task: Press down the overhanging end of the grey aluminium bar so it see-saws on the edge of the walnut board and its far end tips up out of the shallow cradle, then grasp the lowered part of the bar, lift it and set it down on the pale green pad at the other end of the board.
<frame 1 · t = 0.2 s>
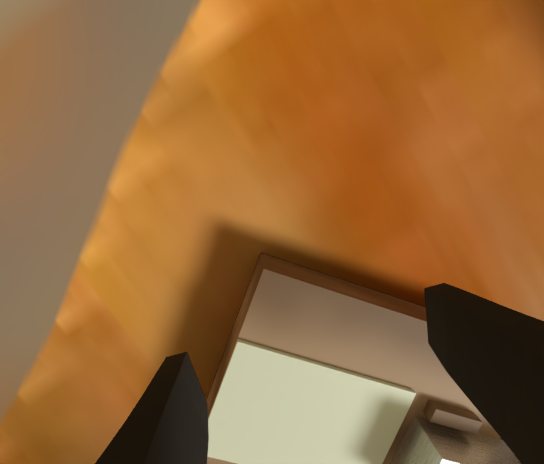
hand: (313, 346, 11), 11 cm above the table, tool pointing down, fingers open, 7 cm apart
board: (392, 411, 24), on the table
pad: (305, 419, 20), resting on board
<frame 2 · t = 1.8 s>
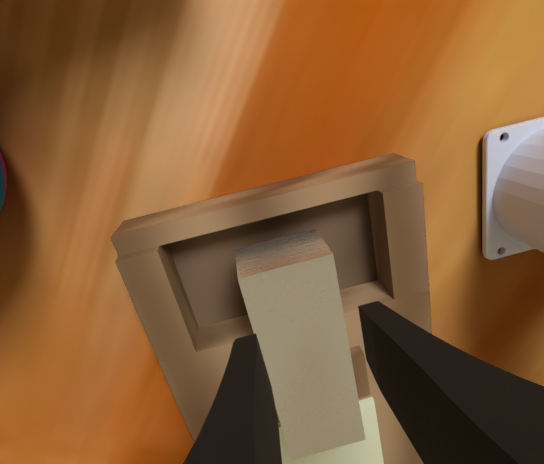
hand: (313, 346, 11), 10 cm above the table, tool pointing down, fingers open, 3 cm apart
board: (301, 358, 24), on the table
bar: (297, 330, 19), point 3 cm above the table, touching board
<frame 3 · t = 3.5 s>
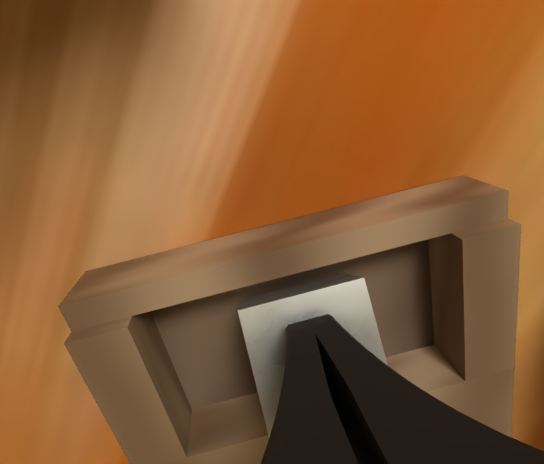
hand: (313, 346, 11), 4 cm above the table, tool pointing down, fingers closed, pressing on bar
board: (327, 437, 18), on the table
bar: (329, 426, 14), point 3 cm above the table, tilted 25°, touching board, gripper
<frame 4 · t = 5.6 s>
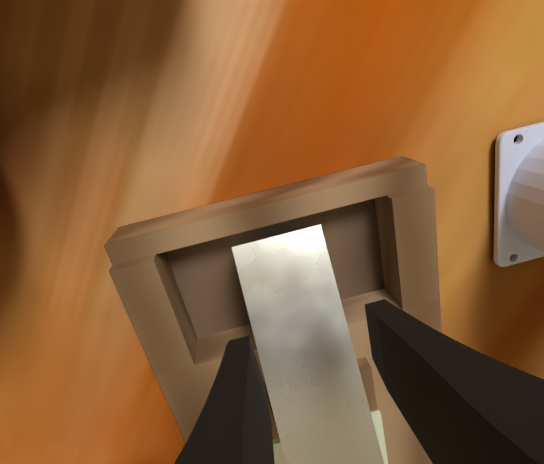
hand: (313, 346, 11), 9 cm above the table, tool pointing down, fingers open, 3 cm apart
board: (304, 368, 23), on the table
bar: (301, 343, 18), point 3 cm above the table, tilted 25°, touching board
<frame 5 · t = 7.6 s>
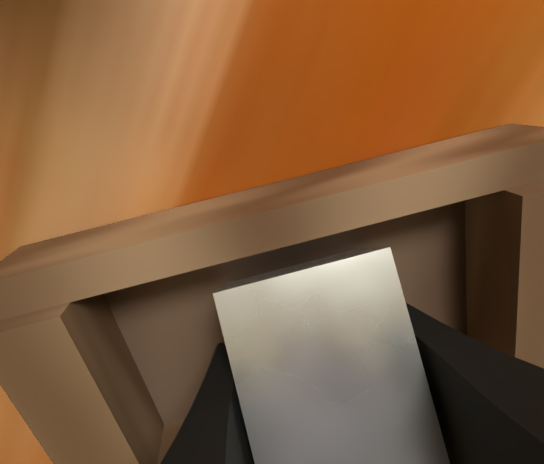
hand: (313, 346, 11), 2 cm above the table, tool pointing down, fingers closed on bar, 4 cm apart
board: (333, 454, 15), on the table
bar: (339, 448, 10), point 3 cm above the table, tilted 25°, touching board, gripper
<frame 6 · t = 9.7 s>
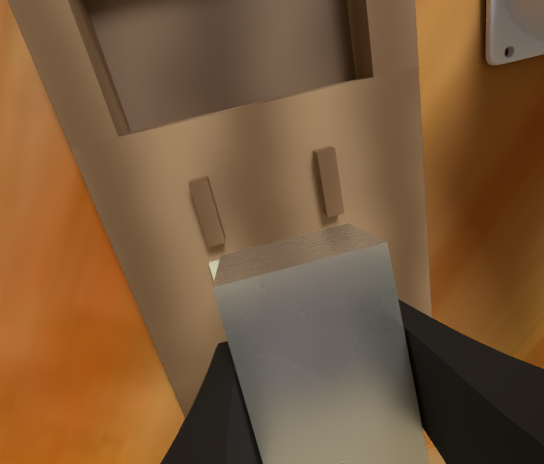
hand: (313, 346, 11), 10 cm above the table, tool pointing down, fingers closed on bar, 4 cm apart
board: (265, 197, 20), on the table
bar: (323, 398, 12), point 10 cm above the table, tilted 12°, touching gripper
when the fingers open (5 cm above the table, at t = 11.3 s): bar drops 1 cm, resting on pad.
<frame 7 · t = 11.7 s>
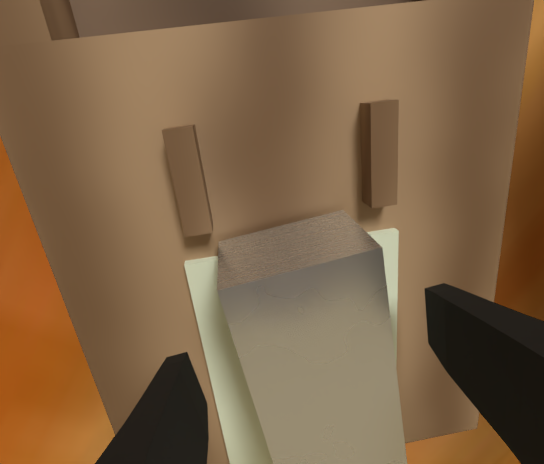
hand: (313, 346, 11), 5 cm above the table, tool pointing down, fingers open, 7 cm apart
board: (274, 176, 14), on the table
pad: (304, 368, 14), resting on board
bar: (312, 361, 13), point 3 cm above the table, touching pad
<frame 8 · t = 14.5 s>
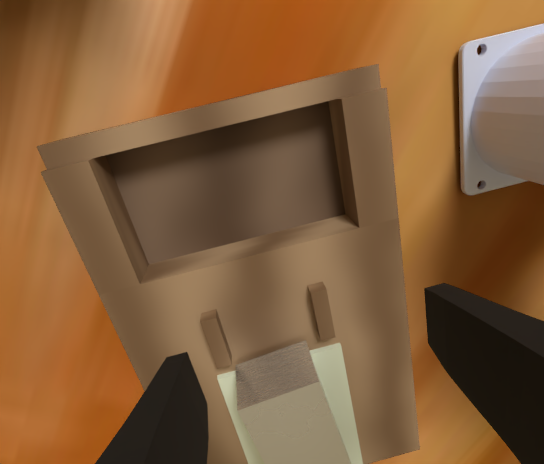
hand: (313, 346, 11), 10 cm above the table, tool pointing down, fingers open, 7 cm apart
board: (266, 305, 22), on the table
pad: (296, 424, 22), resting on board
bar: (300, 421, 21), point 3 cm above the table, touching pad
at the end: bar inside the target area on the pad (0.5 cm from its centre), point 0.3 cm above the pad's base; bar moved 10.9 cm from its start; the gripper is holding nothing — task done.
